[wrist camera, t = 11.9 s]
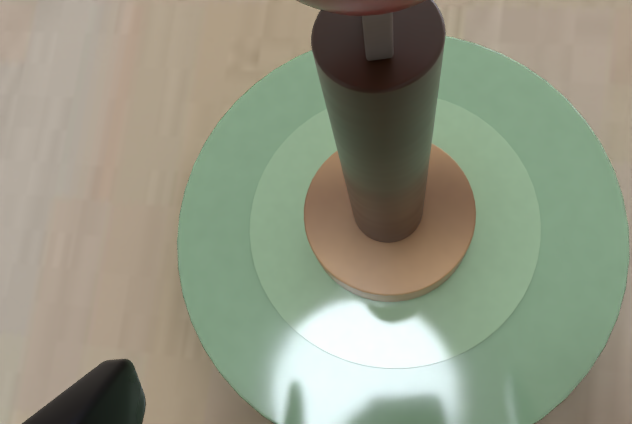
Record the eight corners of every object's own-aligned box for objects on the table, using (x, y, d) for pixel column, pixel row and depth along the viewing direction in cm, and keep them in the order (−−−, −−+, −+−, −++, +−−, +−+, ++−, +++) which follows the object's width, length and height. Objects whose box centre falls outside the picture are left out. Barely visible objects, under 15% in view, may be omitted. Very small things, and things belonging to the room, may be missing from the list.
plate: (605, 514, 15) (621, 523, 14) (137, 402, 18) (120, 403, 17) (626, 67, 19) (640, 48, 18) (241, 32, 22) (233, 14, 21)
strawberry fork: (483, 295, 16) (940, -249, 2) (314, 308, 17) (-62, -73, 3) (458, 140, 18) (656, -703, 4) (305, 157, 18) (32, -531, 5)
